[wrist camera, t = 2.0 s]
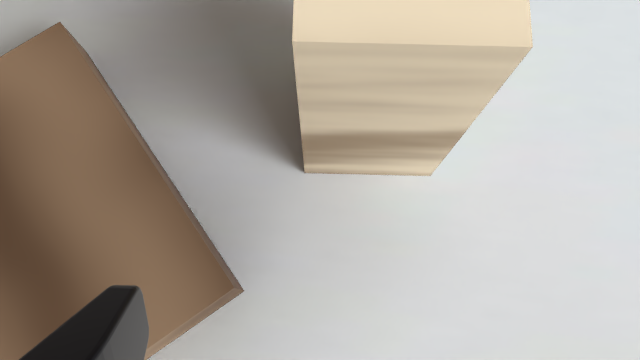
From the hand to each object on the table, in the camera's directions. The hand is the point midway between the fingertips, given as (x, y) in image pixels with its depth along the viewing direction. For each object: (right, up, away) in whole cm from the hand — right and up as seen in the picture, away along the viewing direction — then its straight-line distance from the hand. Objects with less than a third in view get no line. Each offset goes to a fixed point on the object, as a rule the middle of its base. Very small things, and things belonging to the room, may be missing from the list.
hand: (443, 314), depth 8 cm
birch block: (0, +5, +15) cm, 15 cm away
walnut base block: (-13, -1, +13) cm, 19 cm away
